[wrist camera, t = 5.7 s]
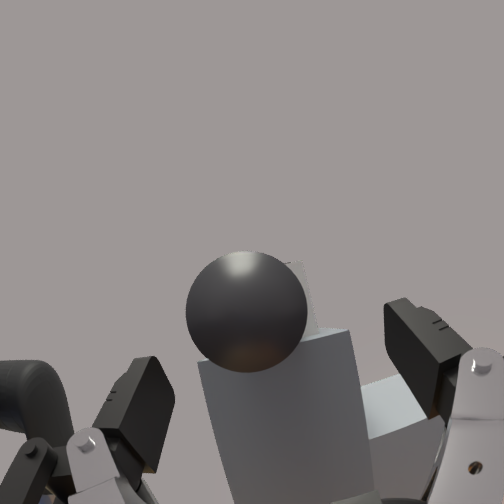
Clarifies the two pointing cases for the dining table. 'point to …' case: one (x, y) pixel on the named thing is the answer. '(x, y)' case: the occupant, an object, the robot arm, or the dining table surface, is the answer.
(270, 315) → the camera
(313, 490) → the stepped stand
